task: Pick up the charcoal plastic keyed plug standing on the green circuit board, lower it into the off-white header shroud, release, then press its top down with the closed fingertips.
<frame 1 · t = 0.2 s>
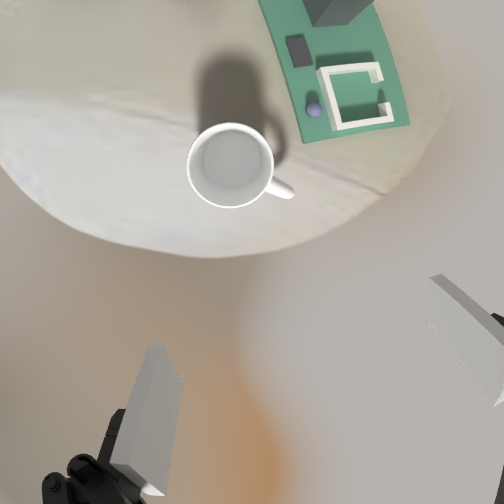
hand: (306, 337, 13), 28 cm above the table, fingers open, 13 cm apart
mug: (244, 166, 37), on the table
header: (349, 97, 34), resting on board
board: (337, 57, 32), on the table
plug: (324, 11, 28), point 1 cm above the table, touching board
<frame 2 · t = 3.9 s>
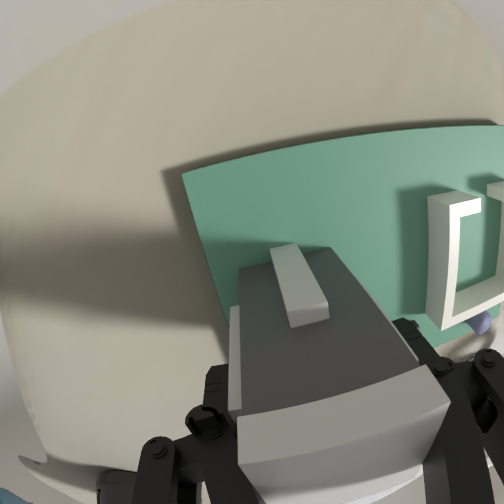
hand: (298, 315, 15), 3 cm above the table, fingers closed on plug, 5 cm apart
header: (462, 240, 17), resting on board
board: (395, 260, 17), on the table
plug: (293, 298, 16), point 1 cm above the table, touching board, gripper
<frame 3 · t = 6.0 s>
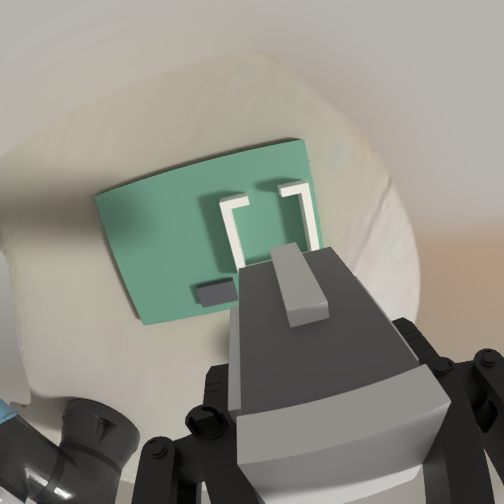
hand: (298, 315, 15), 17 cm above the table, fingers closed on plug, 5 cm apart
header: (269, 225, 31), resting on board
board: (213, 238, 31), on the table
plug: (293, 297, 16), point 15 cm above the table, touching gripper
when the fingers open (5 cm above the table, at t = 8.1 s): plug drops 2 cm, resting on board.
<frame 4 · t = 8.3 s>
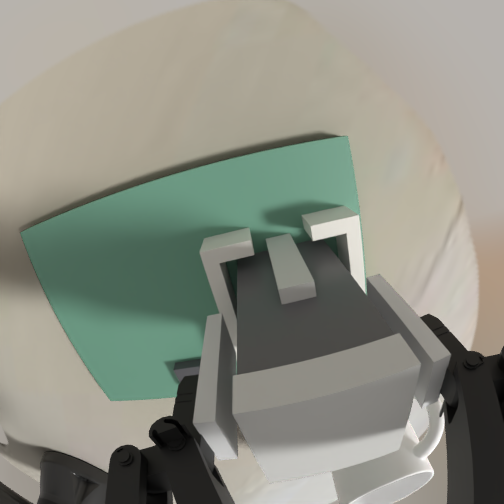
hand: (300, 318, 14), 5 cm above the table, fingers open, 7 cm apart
mug: (370, 400, 25), on the table
header: (285, 276, 19), resting on board
board: (196, 296, 19), on the table
plug: (287, 285, 18), point 1 cm above the table, touching board
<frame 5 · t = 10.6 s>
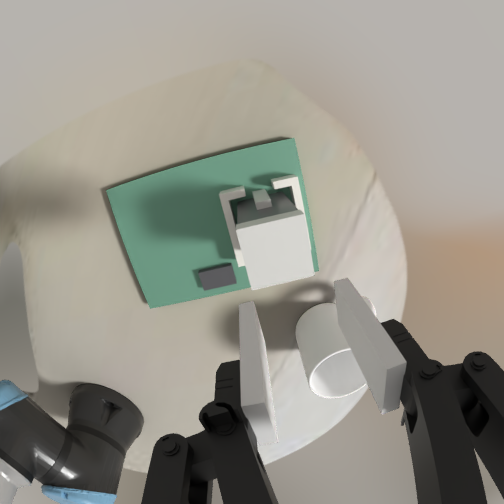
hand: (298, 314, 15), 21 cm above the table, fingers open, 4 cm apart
mug: (330, 315, 40), on the table
header: (264, 215, 34), resting on board
board: (214, 227, 34), on the table
plug: (264, 217, 33), point 1 cm above the table, touching board
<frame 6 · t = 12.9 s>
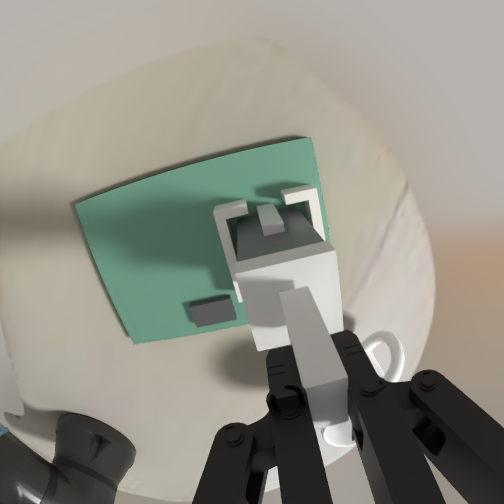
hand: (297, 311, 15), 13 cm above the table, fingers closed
mug: (346, 348, 33), on the table
header: (271, 235, 27), resting on board
board: (207, 250, 27), on the table
plug: (272, 239, 26), point 1 cm above the table, touching board
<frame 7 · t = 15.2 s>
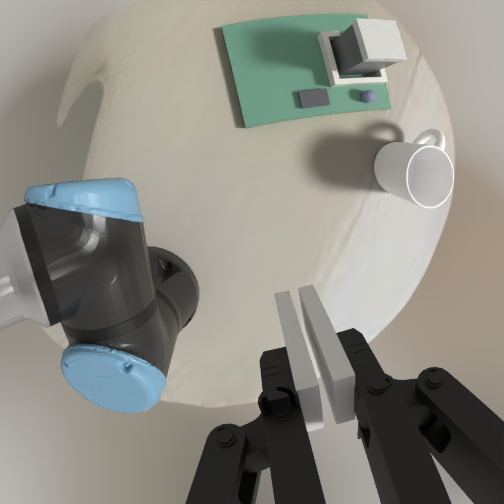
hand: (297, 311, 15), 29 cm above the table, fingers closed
mug: (400, 158, 41), on the table
header: (347, 61, 35), resting on board
board: (309, 64, 35), on the table
plug: (350, 59, 34), point 1 cm above the table, touching board
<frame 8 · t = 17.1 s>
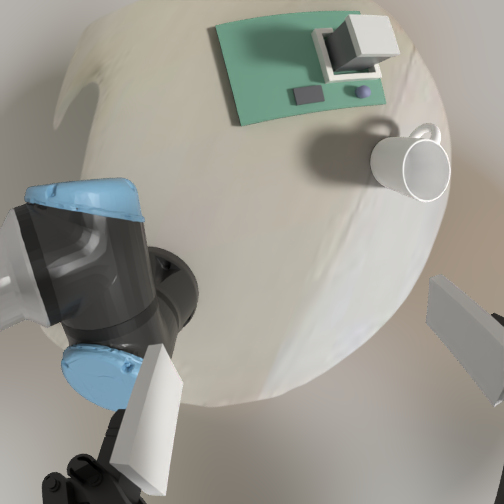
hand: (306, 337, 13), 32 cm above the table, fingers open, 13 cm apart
mug: (396, 153, 41), on the table
header: (341, 57, 35), resting on board
board: (303, 61, 35), on the table
plug: (344, 55, 34), point 1 cm above the table, touching board
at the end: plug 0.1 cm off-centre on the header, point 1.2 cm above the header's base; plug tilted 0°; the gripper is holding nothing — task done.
